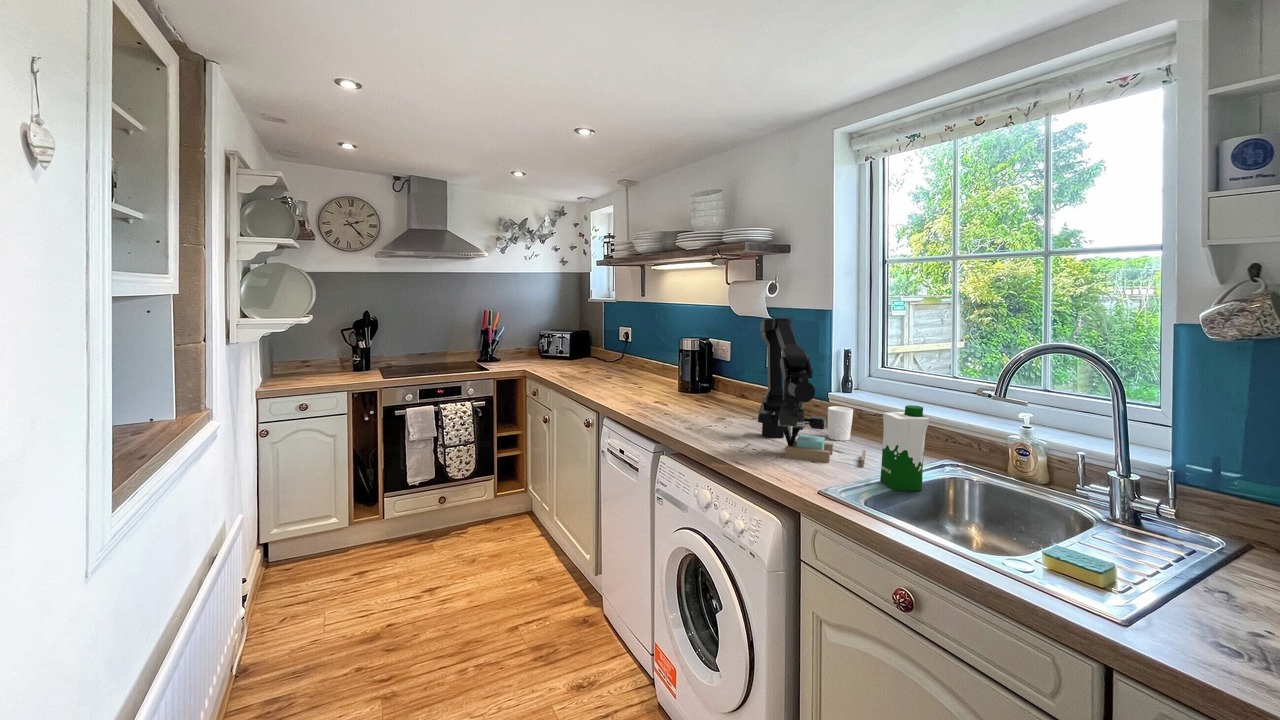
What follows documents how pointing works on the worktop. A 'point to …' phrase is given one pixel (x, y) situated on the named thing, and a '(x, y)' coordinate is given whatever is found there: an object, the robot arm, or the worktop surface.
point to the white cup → (839, 422)
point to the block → (811, 442)
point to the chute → (814, 453)
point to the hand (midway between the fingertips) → (790, 448)
